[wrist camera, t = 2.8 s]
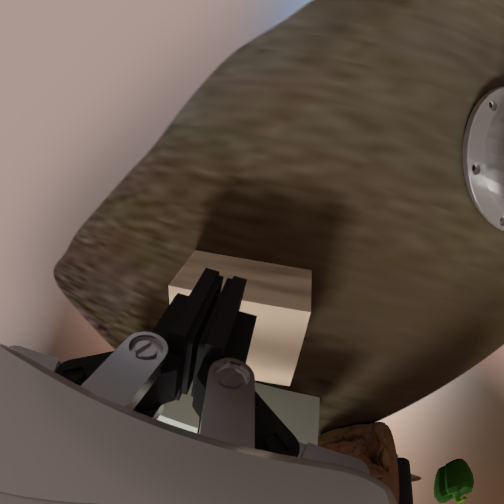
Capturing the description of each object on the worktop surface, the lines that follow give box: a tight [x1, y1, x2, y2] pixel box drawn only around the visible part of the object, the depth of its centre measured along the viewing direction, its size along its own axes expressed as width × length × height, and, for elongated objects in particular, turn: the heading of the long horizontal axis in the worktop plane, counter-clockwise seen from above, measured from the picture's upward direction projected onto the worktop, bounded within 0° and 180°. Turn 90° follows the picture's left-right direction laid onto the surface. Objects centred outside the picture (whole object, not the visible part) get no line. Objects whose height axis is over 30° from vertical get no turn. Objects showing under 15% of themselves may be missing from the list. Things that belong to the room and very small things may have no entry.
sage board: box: [157, 381, 320, 445], centre depth 29 cm, size 3×22×8 cm, turn 77°
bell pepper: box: [434, 459, 474, 503], centre depth 33 cm, size 8×8×10 cm
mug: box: [397, 458, 413, 504], centre depth 35 cm, size 8×12×10 cm
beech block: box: [168, 250, 312, 386], centre depth 25 cm, size 8×10×6 cm
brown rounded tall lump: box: [317, 422, 399, 504], centre depth 26 cm, size 11×8×20 cm
